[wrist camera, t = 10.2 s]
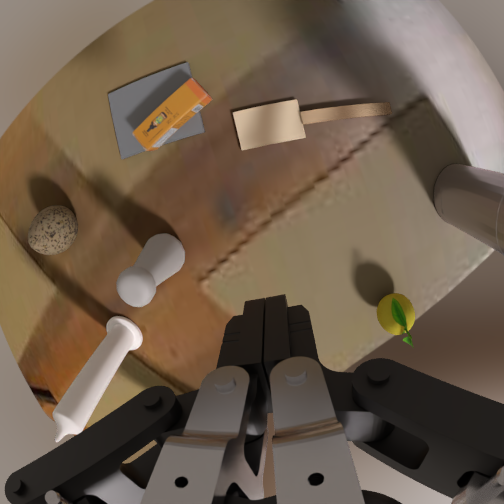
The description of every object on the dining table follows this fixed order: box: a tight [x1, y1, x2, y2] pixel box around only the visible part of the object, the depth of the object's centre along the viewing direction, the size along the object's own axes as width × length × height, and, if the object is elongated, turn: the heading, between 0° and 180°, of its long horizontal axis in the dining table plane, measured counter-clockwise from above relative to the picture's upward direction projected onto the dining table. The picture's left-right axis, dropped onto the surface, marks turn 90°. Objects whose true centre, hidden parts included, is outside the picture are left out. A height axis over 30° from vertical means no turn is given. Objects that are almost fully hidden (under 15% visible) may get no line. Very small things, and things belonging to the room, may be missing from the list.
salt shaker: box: [116, 233, 185, 307], centre depth 33 cm, size 6×6×13 cm
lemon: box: [377, 293, 415, 346], centre depth 36 cm, size 7×6×10 cm
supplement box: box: [132, 78, 212, 151], centre depth 31 cm, size 3×3×10 cm
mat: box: [108, 62, 205, 159], centre depth 32 cm, size 12×10×1 cm
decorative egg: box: [28, 205, 78, 255], centre depth 34 cm, size 7×7×10 cm
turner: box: [233, 99, 392, 150], centre depth 31 cm, size 20×5×1 cm, turn 103°
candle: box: [53, 316, 143, 442], centre depth 34 cm, size 7×7×25 cm
